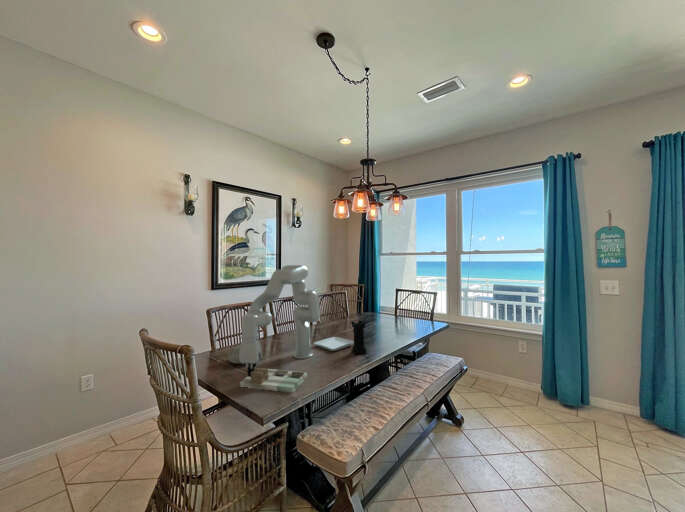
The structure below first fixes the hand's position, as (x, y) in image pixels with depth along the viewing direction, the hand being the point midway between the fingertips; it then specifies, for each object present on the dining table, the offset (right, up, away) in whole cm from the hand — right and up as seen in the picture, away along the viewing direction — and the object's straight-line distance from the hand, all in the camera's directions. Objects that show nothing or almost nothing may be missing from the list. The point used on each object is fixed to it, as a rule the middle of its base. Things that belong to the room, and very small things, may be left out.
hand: (251, 375), depth 142 cm
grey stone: (-15, -5, +32) cm, 35 cm away
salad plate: (+40, -4, +57) cm, 70 cm away
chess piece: (+57, -3, +42) cm, 71 cm away
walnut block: (+5, -2, -2) cm, 6 cm away
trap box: (+12, -4, +2) cm, 12 cm away
